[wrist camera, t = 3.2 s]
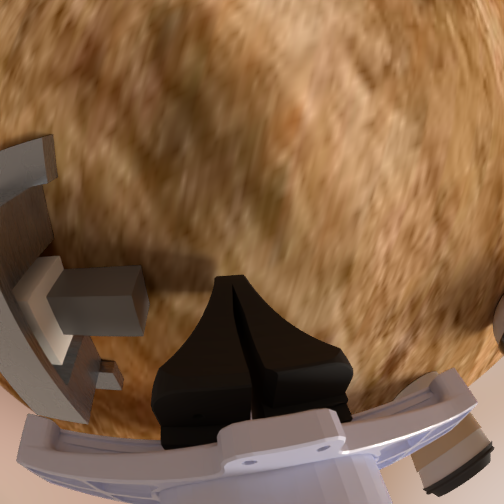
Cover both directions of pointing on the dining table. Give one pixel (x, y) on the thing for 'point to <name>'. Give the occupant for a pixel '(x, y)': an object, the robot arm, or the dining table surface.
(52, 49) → the dining table surface
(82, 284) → the plug
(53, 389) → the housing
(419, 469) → the coffee cup
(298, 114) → the dining table surface
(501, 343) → the black penguin figurine
